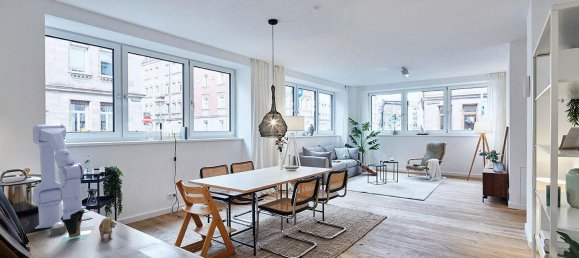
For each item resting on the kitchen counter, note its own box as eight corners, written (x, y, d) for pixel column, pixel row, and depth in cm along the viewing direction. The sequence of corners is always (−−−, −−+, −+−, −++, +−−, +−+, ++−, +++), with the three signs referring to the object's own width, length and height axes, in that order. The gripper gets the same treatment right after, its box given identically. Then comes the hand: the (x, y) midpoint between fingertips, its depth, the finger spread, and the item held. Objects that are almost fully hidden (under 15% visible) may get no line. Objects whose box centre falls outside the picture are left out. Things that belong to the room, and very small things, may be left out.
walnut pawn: (70, 234, 116) (69, 221, 115) (81, 233, 117) (80, 220, 117) (67, 238, 112) (66, 224, 112) (78, 236, 113) (77, 223, 113)
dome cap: (55, 230, 121) (54, 221, 121) (65, 229, 123) (65, 220, 123) (51, 233, 118) (51, 224, 118) (62, 232, 119) (62, 223, 119)
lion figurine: (118, 241, 111) (116, 217, 110) (101, 246, 107) (99, 221, 107) (111, 230, 122) (110, 208, 122) (96, 233, 119) (95, 211, 119)
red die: (71, 223, 132) (70, 213, 131) (82, 221, 133) (81, 212, 133) (68, 226, 128) (67, 216, 128) (79, 224, 129) (78, 214, 129)
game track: (73, 228, 125) (73, 228, 125) (95, 225, 128) (95, 225, 128) (59, 242, 111) (59, 242, 111) (85, 239, 114) (85, 239, 114)
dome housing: (53, 231, 122) (53, 224, 122) (68, 229, 124) (68, 223, 123) (48, 236, 117) (48, 229, 117) (64, 234, 119) (63, 227, 119)
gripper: (78, 200, 108) (80, 237, 109) (90, 191, 122) (91, 224, 123) (54, 202, 106) (57, 240, 107) (69, 192, 120) (71, 226, 120)
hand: (74, 232), depth 114 cm, fingers closed on walnut pawn, 3 cm apart
